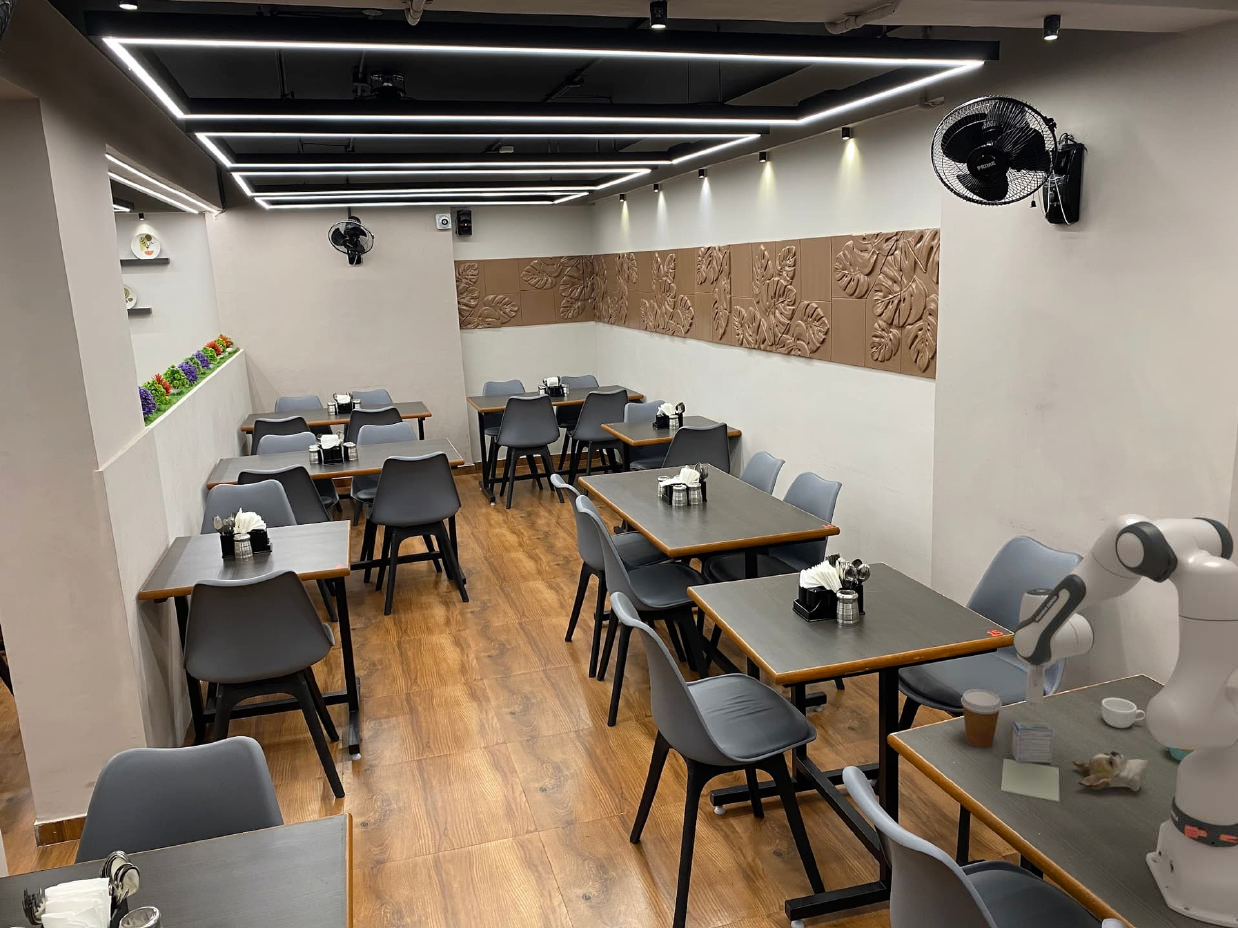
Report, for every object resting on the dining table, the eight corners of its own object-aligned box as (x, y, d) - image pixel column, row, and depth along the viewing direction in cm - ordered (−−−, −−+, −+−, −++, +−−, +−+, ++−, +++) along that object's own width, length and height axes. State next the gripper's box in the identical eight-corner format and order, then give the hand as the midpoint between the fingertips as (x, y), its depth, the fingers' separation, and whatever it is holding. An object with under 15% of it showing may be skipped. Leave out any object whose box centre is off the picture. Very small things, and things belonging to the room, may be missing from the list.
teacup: (1102, 729, 229) (1104, 709, 228) (1098, 714, 236) (1099, 695, 235) (1147, 734, 226) (1149, 714, 224) (1141, 719, 233) (1143, 700, 231)
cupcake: (1177, 743, 221) (1181, 699, 218) (1212, 760, 213) (1217, 714, 211) (1154, 753, 217) (1158, 708, 215) (1188, 770, 210) (1193, 723, 207)
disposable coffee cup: (983, 754, 220) (985, 710, 217) (951, 738, 228) (952, 695, 225) (1008, 743, 225) (1010, 699, 222) (976, 727, 233) (978, 684, 230)
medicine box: (1044, 754, 219) (1046, 721, 217) (1051, 763, 215) (1053, 730, 213) (1011, 753, 220) (1012, 720, 218) (1017, 762, 215) (1019, 729, 214)
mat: (1059, 801, 200) (1059, 800, 200) (1000, 790, 206) (1001, 789, 205) (1058, 769, 213) (1058, 767, 213) (1003, 759, 218) (1003, 758, 218)
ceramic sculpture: (1153, 766, 197) (1077, 761, 202) (1153, 802, 199) (1078, 796, 204) (1142, 742, 207) (1070, 737, 212) (1142, 776, 208) (1070, 771, 213)
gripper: (1051, 672, 208) (1047, 725, 211) (1051, 636, 225) (1047, 686, 229) (1021, 668, 210) (1018, 721, 214) (1024, 632, 228) (1020, 682, 231)
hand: (1033, 702), depth 221 cm, fingers closed
